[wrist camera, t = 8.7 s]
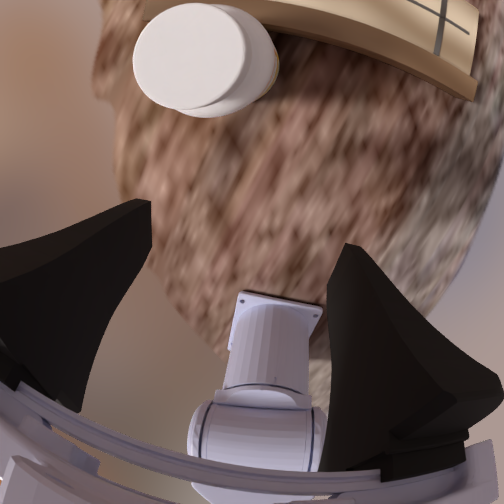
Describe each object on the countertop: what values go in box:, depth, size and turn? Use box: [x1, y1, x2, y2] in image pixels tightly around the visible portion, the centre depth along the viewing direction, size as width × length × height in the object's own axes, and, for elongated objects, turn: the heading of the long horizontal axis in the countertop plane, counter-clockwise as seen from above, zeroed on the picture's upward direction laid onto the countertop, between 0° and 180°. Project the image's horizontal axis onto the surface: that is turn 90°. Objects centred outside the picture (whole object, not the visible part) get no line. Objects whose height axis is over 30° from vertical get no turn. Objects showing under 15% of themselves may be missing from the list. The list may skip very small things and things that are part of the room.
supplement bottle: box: [133, 3, 279, 118], centre depth 11 cm, size 5×5×10 cm
